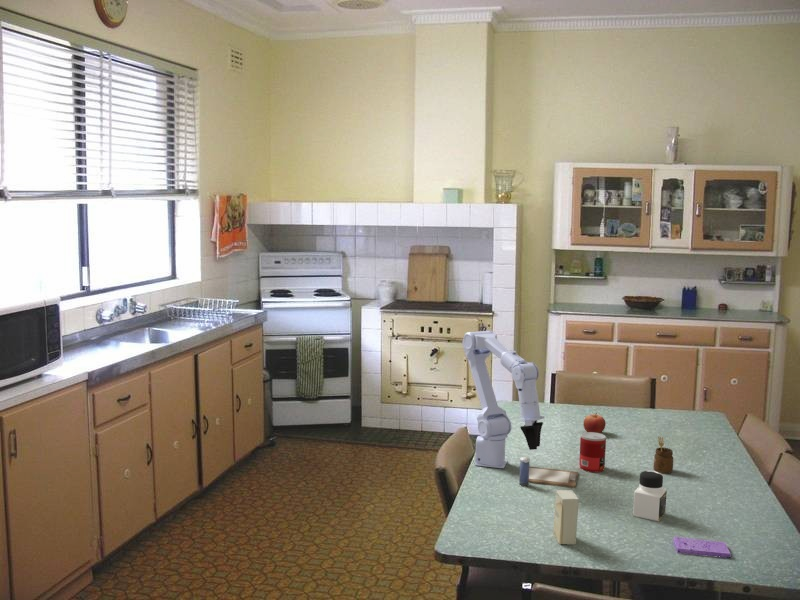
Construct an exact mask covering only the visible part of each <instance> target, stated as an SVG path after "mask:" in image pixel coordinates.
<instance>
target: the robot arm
mask: <svg viewBox="0 0 800 600" xmlns="http://www.w3.org/2000/svg"><path fill="white" fill-rule="evenodd" d="M461 344H462V347H463V350H464V353H465V357H466V359H467V361H468V364H469V369H470V371H471V375H472V379H473V382H474V385H475V386H474V387H475V389H476V393H477V396H478V401H479V404H480V407H481V410H480V412H479V414H478V415H477V417H476V420H477V431H478V433H479V435H477V437H476V440H475V441H476V442H475V457H474V458H475V460H474V466H477V467H486V468H487V467H488V468H496V469H505V467H506V465H507V463H508V459H506V439H507V438H508V435H510V434H511V431H512V421H511V420H510V417H508V416H509V415H508V414H507V411H506V410H505V409H504V408H502V407H500V406H499V405H498V401H497V399H496V395H495V391H494V388H493V384H492V381H491V378H490V374H489V370H488V367H487V364H486V359H487V358H489V356H491V354H493V355H495V356H496V357H498V358H499V359H500V364H501V366H502V367H504V368H505V369H506V370H507V371H508V372H510V373H511V378H512V380H513V381H514V384H515V388H516V389H517V393H518V402H519V411H520V421H521V422H524V425H522V426H521V425H520V427H519V429H520V430H521V432H522V433H523V436H524V437H525V440H526V443H527V446H528V449H529V451H533V450H537V448H539V447H540V445H541V432H542V427H543V424H544V422H543V421H540V420H544V419H545V416H544V415H542V416H541V412H540V411H541V410H540V405H539V403H540V402H539V396H538V395H539V394H538V386H537V380H538V378H539V377H540V376H539V374H540V372H539V367H538V366H537V365H536V363H535V362H533V361H531V362H529V361H526V359H524V358H523V357H521V356H520V355H519V354H518V353H517V352H518V351H516V350H508V349H507V348H506V347H505V346H504V344H502V343H501V342H500V340H499V339H498V335H497V334H496V333H495V332H494V331H493V330H491V329H487V330H481V331H468V332H467V331H466V333H465V334H464V335H463V339H462V343H461Z"/></svg>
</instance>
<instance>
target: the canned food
mask: <svg viewBox="0 0 800 600" xmlns="http://www.w3.org/2000/svg"><path fill="white" fill-rule="evenodd" d="M579 441H580V442H579V463H578V464H579V465H578V466H579V467H580V469H581V470H582V469H583V471H585V472H588V471H589V473H600V472H604V469H605V467H606V466H605V465H606V449H607V448H606V446H607V436H606V435H605V434H603V433H595V432H586V431H585V432H582V433H580V439H579Z"/></svg>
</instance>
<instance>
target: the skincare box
mask: <svg viewBox="0 0 800 600" xmlns="http://www.w3.org/2000/svg"><path fill="white" fill-rule="evenodd" d="M579 500H580V499H579V497H578V496H577V495H576V494H575V492H574V491H573V490H572V489H556V490H555V502H554V503H555V504H554V515H553V516H554V517H553V519H554V521H553V531H552V535H553V536H554V539H556V541H557V543H558V544H559V545H561V544H567V545H576V544H577V543H576V541H577V529H578V528H577V527H578V518H579V517H578V516H579V515H578V514H579V502H580V501H579Z"/></svg>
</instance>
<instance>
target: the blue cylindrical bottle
mask: <svg viewBox="0 0 800 600" xmlns="http://www.w3.org/2000/svg"><path fill="white" fill-rule="evenodd" d="M530 462H531V459H530V457H528V456H521V457H520V458H519V482H518V485H519V486H520V485H521V486H520V487H524V486H526V487H528V485H530V483H529V467H530Z"/></svg>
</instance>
